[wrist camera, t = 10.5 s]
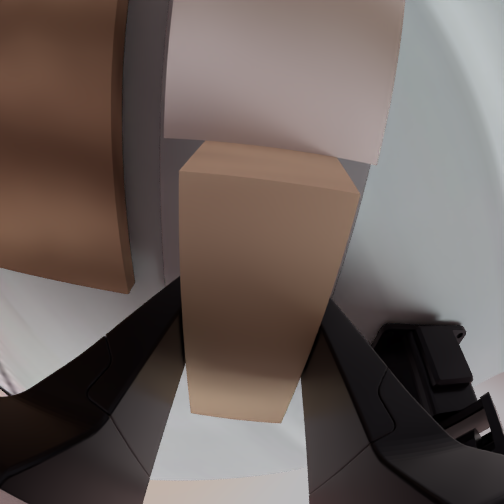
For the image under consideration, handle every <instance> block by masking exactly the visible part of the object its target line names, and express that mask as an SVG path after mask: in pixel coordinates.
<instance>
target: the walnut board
mask: <svg viewBox="0 0 504 504" xmlns="http://www.w3.org/2000/svg"><path fill="white" fill-rule="evenodd" d="M128 3H129V0H0V268H4V269H8V270H12V271H17V272H21V273H25V274H29V275H34V276H38V277H43V278H47V279H52V280H57V281H61V282H66V283H71V284H76V285H81V286H86V287H91V288H96V289H102V290H107V291H113V292H118V293H124V294H129V293H130V291H131V289H132V287H133V285H134V283H135V279H134V272H133V265H132V258H131V250H130V242H129V233H128V223H127V213H126V202H125V188H124V172H123V150H122V80H123V58H124V43H125V31H126V21H127V12H128Z"/></svg>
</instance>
